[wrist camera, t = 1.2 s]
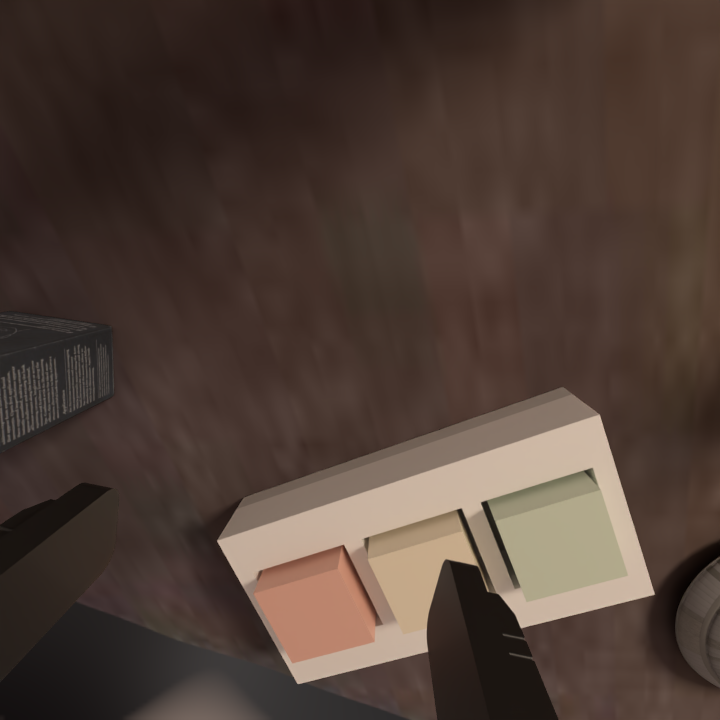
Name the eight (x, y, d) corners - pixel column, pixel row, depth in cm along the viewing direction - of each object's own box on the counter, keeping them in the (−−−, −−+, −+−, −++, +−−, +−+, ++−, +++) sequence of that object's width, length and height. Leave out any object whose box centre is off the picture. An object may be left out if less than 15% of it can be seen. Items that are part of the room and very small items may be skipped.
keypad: (562, 387, 27) (599, 414, 22) (623, 577, 31) (667, 636, 26) (243, 497, 31) (216, 540, 27) (327, 654, 35) (317, 718, 30)
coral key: (343, 535, 27) (337, 568, 25) (376, 603, 29) (374, 641, 26) (267, 559, 28) (253, 593, 26) (301, 624, 30) (292, 663, 27)
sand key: (454, 501, 26) (461, 531, 23) (483, 573, 27) (494, 610, 24) (370, 527, 27) (367, 559, 24) (402, 596, 28) (403, 634, 25)
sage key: (576, 462, 25) (600, 489, 22) (601, 540, 26) (628, 575, 23) (483, 491, 26) (495, 521, 23) (512, 565, 27) (526, 602, 24)
